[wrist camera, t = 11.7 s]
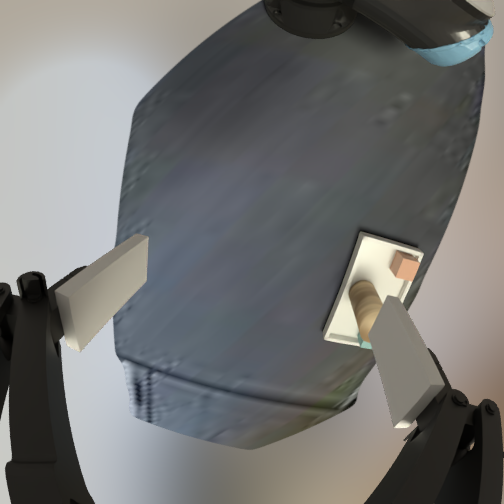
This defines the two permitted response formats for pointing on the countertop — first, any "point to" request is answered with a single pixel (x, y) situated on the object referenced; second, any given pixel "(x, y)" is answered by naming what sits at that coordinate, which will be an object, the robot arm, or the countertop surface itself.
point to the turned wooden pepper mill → (365, 306)
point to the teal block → (363, 342)
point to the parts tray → (370, 269)
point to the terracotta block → (404, 266)
